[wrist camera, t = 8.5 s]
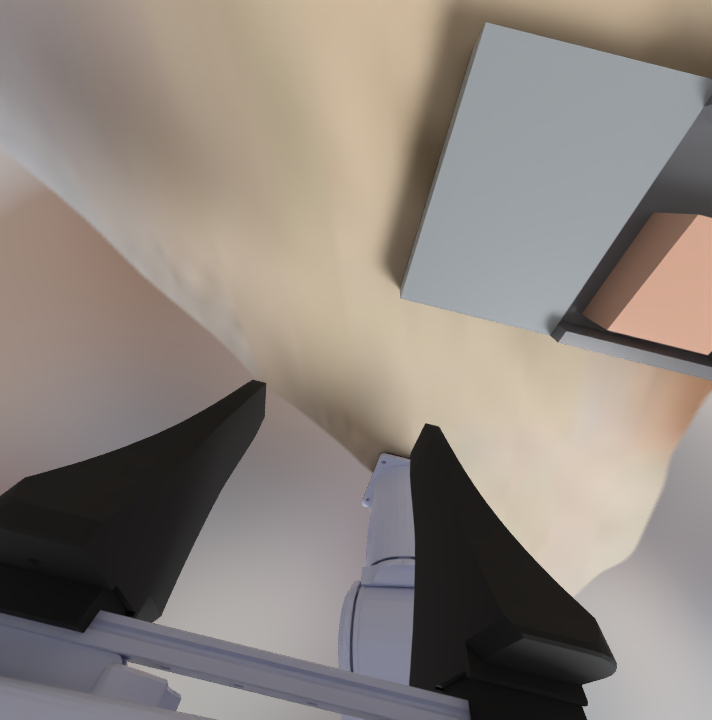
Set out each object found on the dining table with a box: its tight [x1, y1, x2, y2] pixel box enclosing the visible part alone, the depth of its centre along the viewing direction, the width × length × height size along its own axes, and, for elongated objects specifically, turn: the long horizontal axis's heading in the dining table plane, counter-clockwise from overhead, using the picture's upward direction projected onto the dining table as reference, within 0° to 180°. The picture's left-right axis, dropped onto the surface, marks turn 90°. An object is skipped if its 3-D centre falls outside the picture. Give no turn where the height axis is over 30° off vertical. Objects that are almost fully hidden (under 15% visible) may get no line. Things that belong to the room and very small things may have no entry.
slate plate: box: [400, 22, 712, 335], centre depth 15 cm, size 12×10×2 cm
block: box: [582, 212, 712, 355], centre depth 15 cm, size 6×6×2 cm
